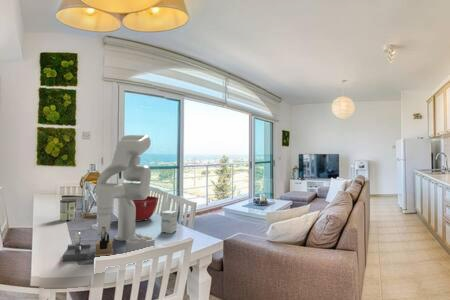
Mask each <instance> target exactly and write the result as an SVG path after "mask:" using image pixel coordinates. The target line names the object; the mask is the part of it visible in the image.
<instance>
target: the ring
mask: <svg viewBox="0 0 450 300" xmlns="http://www.w3.org/2000/svg"><path fill="white" fill-rule="evenodd" d="M113 243H114V239H113V238H109V239H107V249H100V239H97V241H96V243H95V252H96V255H99V254H111V253H112V249H114V248H113V247H114V246H113V245H114V244H113Z"/></svg>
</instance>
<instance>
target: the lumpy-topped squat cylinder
mask: <svg viewBox="0 0 450 300" xmlns="http://www.w3.org/2000/svg"><path fill="white" fill-rule="evenodd" d="M136 234H137V233H136ZM155 243H156V242H155V238H154V237H152V236H151V235H149V234H143V235H142V234H140V233H138V234H137V235H135V236H132V237H131V238H130V239H128V240H126V241H125V254H126V253H127V252H131V251H135V250H139V249H143V248H146V247H150V246H154V247H155Z"/></svg>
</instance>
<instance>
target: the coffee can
mask: <svg viewBox="0 0 450 300" xmlns="http://www.w3.org/2000/svg"><path fill="white" fill-rule="evenodd" d="M59 202H60V204H59V207H60V210H59V221H60V220H62V221H61V222H67V221H66V220H72V221H75V220H76V219H77V199H76V198H74V199H73V198H66V199H64V198H63V199H60V200H59ZM74 219H75V220H74Z"/></svg>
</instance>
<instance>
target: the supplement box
mask: <svg viewBox="0 0 450 300" xmlns="http://www.w3.org/2000/svg"><path fill="white" fill-rule="evenodd" d="M177 228H178V211H177V210H176V211H175V210H169V209H168V210H164V211H162V212H161V222H160V233H163V232H166V233H165V234H170V233H171V234H173V233H172V232H174V231H176V230H177ZM176 232H177V231H176ZM174 233H175V232H174Z"/></svg>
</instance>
